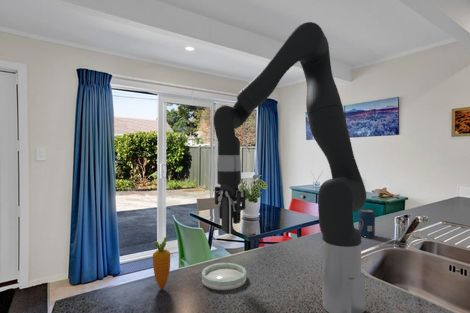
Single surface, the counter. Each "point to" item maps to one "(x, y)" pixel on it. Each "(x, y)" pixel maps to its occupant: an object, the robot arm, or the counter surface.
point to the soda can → (367, 222)
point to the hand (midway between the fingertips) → (229, 220)
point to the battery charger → (227, 215)
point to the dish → (224, 276)
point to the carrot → (161, 264)
